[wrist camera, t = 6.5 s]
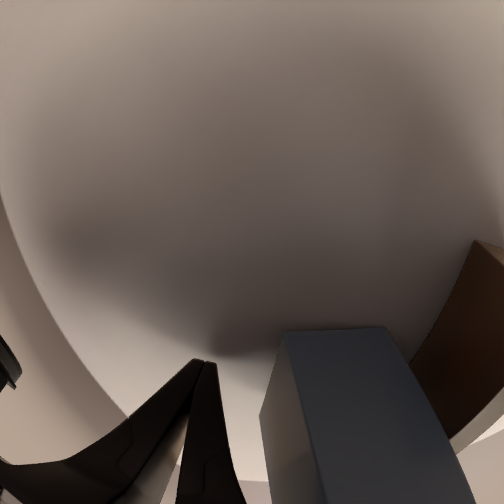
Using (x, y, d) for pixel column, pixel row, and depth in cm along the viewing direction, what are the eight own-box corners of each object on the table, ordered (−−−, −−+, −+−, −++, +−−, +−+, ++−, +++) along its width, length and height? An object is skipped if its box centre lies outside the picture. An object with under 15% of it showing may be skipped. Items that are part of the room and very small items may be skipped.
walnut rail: (348, 439, 12) (350, 501, 8) (474, 238, 6) (552, 318, 3) (379, 437, 12) (385, 497, 8) (508, 250, 6) (576, 319, 3)
